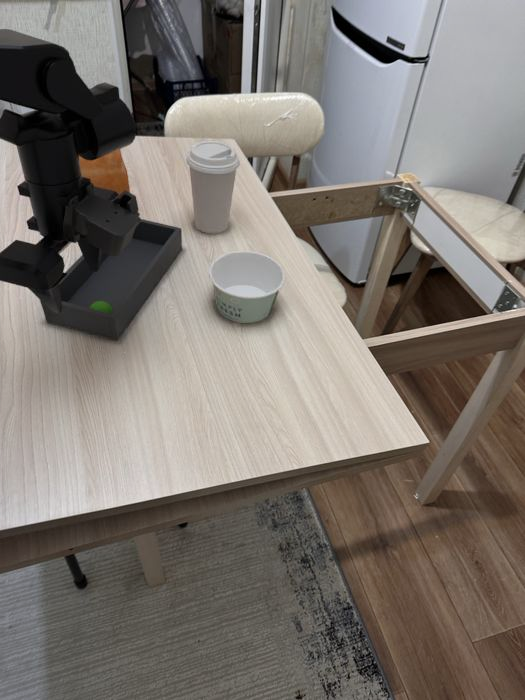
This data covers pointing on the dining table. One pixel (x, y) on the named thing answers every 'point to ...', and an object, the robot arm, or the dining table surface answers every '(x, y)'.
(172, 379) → the dining table surface
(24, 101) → the robot arm
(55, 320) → the tray
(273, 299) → the food container
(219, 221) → the coffee cup
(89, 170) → the bread
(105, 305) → the pea
